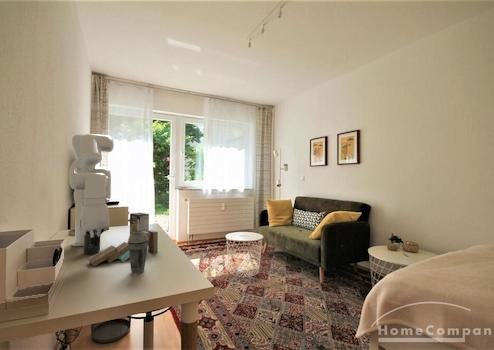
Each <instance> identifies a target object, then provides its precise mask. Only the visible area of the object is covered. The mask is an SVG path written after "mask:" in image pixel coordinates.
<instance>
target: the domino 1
mask: <svg viewBox="0 0 494 350" xmlns="http://www.w3.org/2000/svg"><path fill="white" fill-rule="evenodd" d="M116 247H117V246H114V245H110V246H107V247H106V248H105V249H103V250H100V252H98V253H96V254H95V255H94V254H93V256H91V257H89V258H87V260H88V262H89V264H90V265H91V266H93V267H96V266H97V265H100V263H101V264H102V262H104V261H106V259H107V258H109V257H111V256H112V255H114V254H116V253H117V252H118V250H117V248H116Z"/></svg>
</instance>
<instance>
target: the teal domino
mask: <svg viewBox="0 0 494 350" xmlns="http://www.w3.org/2000/svg"><path fill="white" fill-rule="evenodd" d="M117 259H118V260H119V261H121V262H123V263H124V262H126V261H127V260H129V259H130V253H129V250H128V251H126V252H125V253H123V254H122V255H121V256H119V257H118V258H117Z"/></svg>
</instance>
